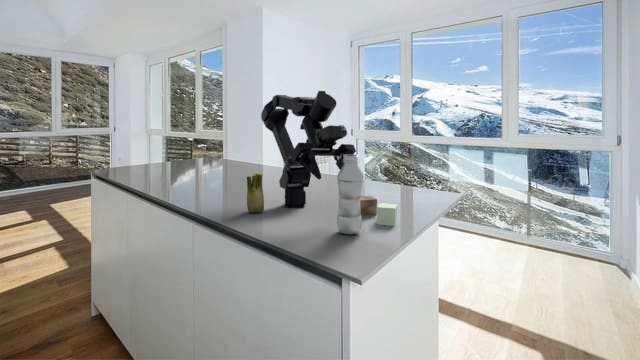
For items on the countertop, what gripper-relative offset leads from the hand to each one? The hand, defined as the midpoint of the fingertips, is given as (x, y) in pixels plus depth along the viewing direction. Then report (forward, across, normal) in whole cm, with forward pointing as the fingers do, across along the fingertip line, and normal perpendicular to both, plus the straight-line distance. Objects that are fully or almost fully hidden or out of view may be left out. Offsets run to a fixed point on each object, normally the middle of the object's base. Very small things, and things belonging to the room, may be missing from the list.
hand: (334, 178), depth 98 cm
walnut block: (+6, +16, +11) cm, 21 cm away
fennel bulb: (-5, -12, +27) cm, 30 cm away
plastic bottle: (+15, 0, +2) cm, 16 cm away
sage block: (+14, +15, +3) cm, 20 cm away
